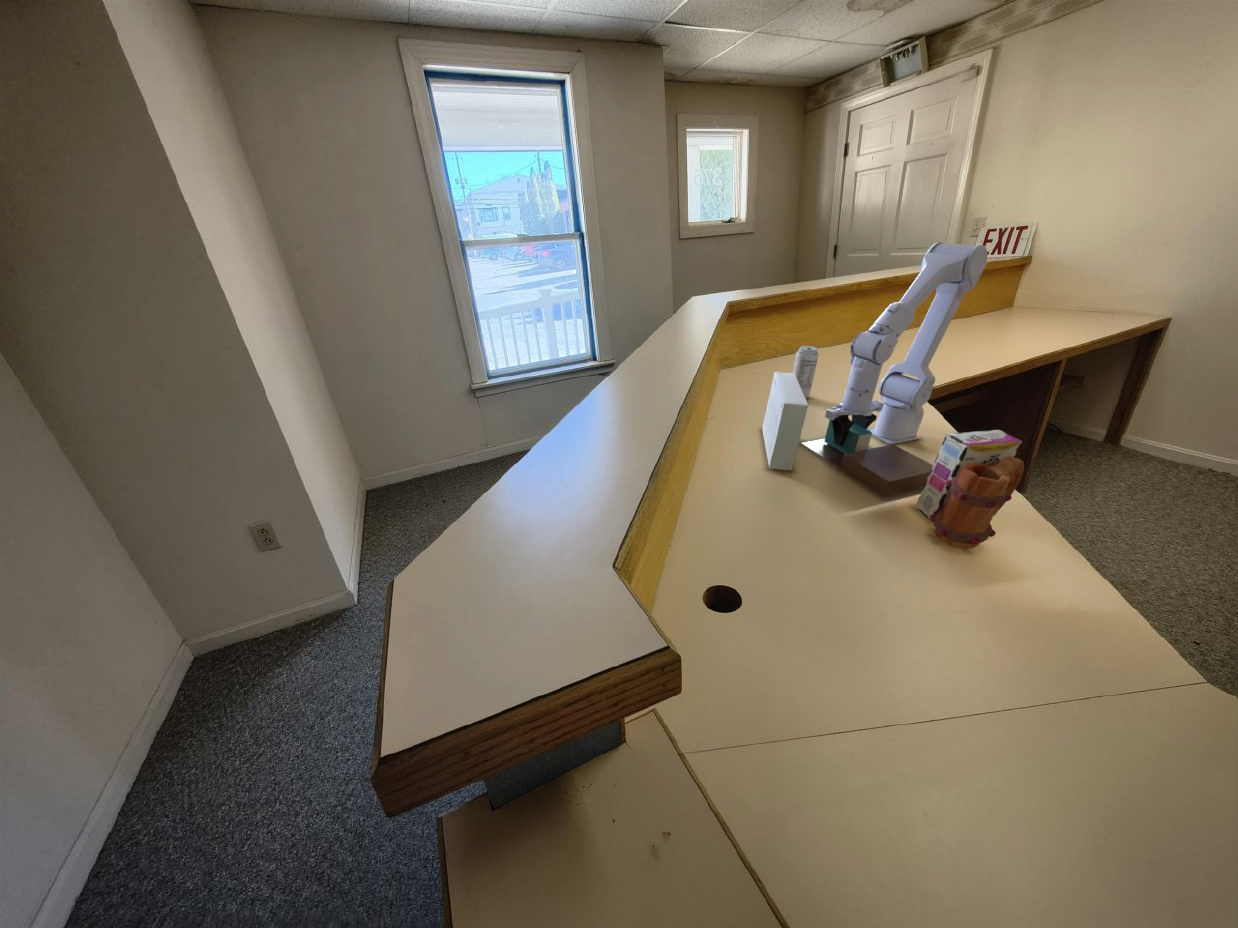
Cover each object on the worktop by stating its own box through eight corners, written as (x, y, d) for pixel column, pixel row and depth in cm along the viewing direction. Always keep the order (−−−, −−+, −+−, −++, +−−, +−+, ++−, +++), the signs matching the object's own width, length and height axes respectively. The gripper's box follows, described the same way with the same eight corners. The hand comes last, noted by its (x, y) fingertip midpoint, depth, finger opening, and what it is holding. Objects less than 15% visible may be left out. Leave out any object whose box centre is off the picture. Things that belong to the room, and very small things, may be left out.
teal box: (837, 439, 112) (843, 416, 109) (865, 455, 104) (873, 432, 101) (823, 441, 111) (829, 419, 108) (852, 458, 103) (859, 435, 100)
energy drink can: (806, 393, 141) (816, 345, 133) (811, 400, 135) (822, 351, 128) (786, 392, 141) (795, 344, 133) (790, 400, 136) (800, 350, 128)
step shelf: (846, 435, 115) (850, 421, 113) (934, 485, 95) (941, 469, 93) (800, 444, 111) (804, 429, 109) (883, 498, 91) (888, 481, 89)
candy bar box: (933, 524, 84) (967, 445, 75) (913, 508, 88) (943, 432, 80) (985, 517, 85) (1024, 440, 77) (963, 502, 90) (998, 427, 81)
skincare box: (794, 472, 100) (809, 405, 92) (768, 469, 101) (781, 403, 93) (783, 430, 118) (795, 371, 110) (761, 429, 119) (771, 370, 111)
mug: (959, 562, 75) (997, 485, 67) (914, 533, 81) (944, 461, 74) (1014, 539, 80) (1055, 465, 72) (967, 513, 86) (1000, 444, 79)
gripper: (848, 398, 95) (833, 455, 101) (901, 389, 99) (883, 444, 106) (824, 387, 100) (811, 441, 107) (875, 379, 104) (859, 432, 111)
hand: (845, 442), depth 107 cm, fingers closed on teal box, 4 cm apart
